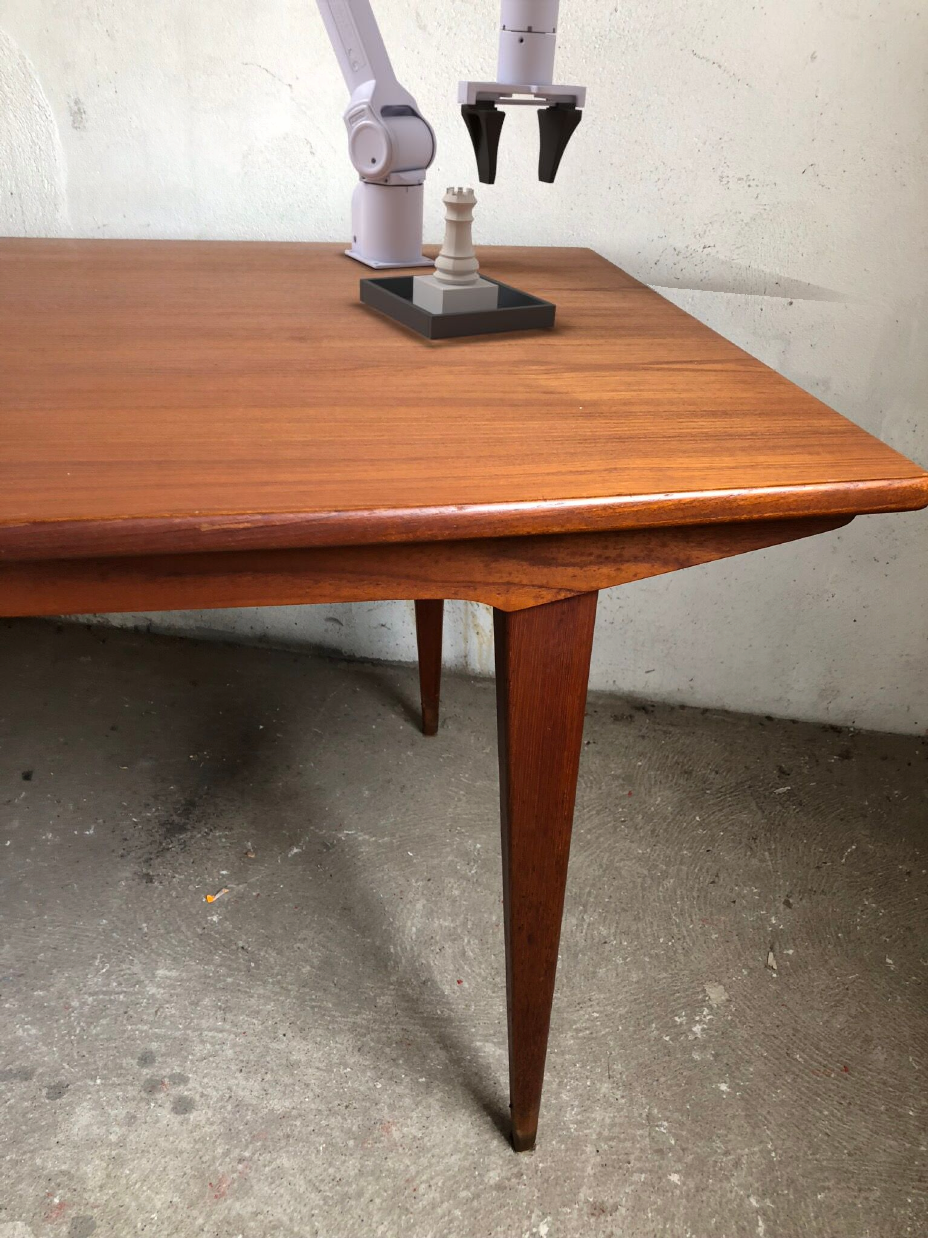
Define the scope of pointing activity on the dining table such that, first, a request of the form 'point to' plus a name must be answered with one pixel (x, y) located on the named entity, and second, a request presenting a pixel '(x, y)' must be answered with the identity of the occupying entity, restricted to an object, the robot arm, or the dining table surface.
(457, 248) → the rook chess piece
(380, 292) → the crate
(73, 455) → the dining table surface
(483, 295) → the grey block
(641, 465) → the dining table surface
